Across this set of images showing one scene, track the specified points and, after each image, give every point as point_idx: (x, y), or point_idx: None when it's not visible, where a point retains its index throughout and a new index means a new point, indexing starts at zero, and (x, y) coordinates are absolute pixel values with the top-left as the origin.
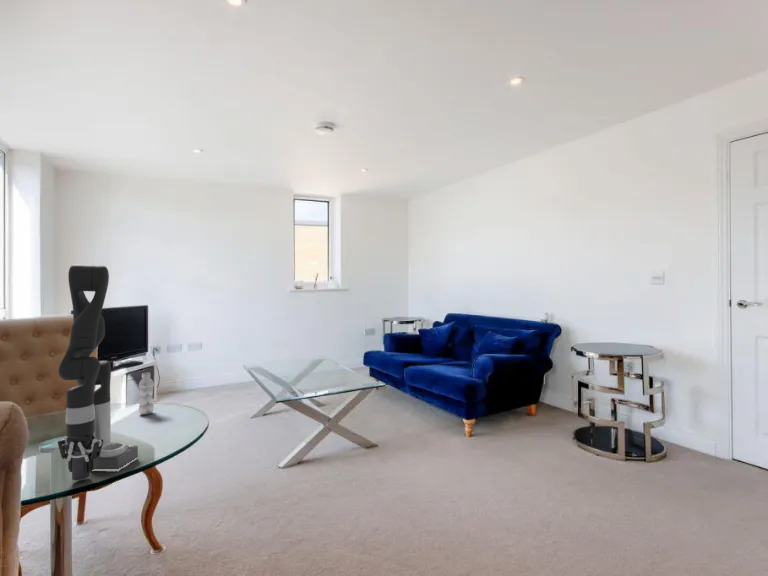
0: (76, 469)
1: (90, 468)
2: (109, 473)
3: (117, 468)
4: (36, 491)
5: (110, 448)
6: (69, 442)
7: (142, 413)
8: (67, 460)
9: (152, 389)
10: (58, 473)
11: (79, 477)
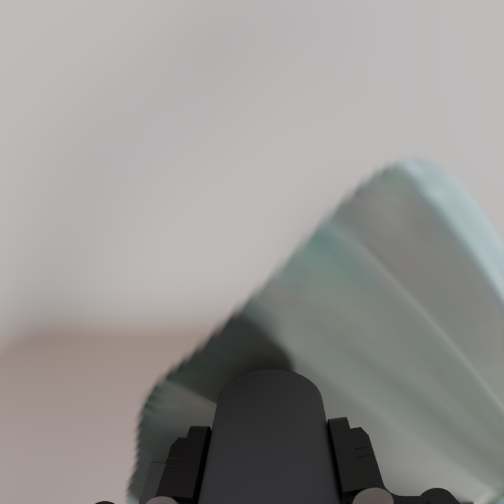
0: (250, 433)
1: (171, 453)
2: None
3: (150, 477)
4: (450, 228)
5: None
6: None
7: None
8: (384, 489)
9: None
10: (463, 408)
11: (235, 389)
